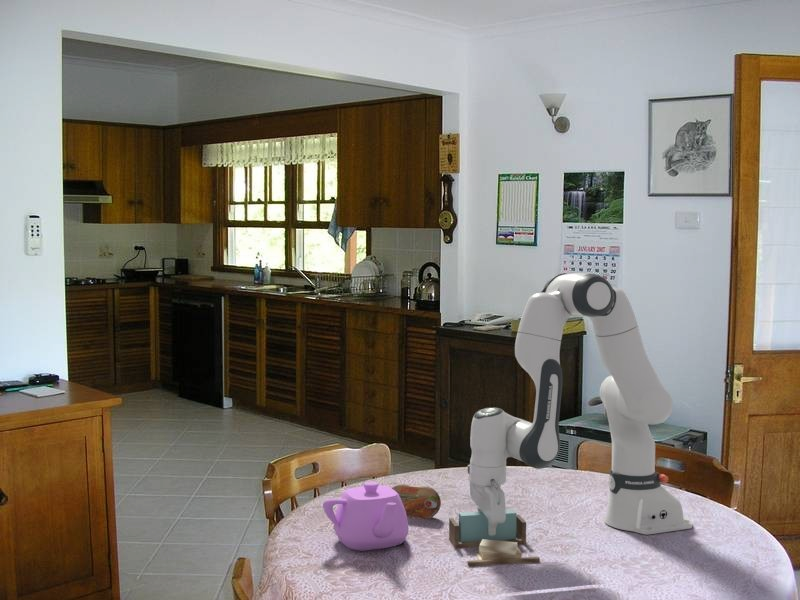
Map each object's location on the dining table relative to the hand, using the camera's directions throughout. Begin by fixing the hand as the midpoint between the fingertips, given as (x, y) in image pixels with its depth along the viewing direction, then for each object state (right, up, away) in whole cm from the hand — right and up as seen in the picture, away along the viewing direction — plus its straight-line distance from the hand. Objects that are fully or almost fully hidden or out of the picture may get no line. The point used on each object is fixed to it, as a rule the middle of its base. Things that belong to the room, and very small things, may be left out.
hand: (487, 529), depth 219 cm
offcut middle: (+2, -4, -10) cm, 11 cm away
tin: (-18, -2, +22) cm, 28 cm away
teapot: (-28, -4, +1) cm, 29 cm away
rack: (+1, -4, -5) cm, 6 cm away
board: (0, -4, 0) cm, 4 cm away
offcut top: (+2, -2, -10) cm, 10 cm away
